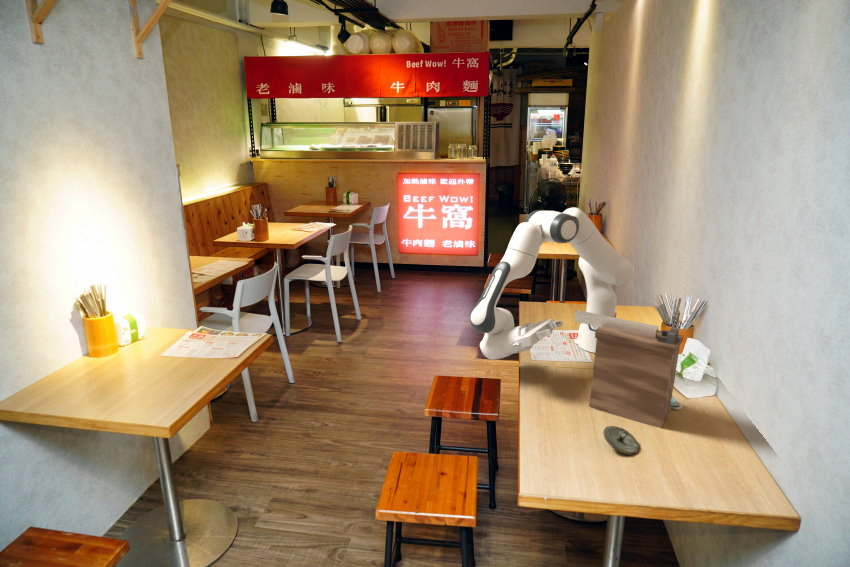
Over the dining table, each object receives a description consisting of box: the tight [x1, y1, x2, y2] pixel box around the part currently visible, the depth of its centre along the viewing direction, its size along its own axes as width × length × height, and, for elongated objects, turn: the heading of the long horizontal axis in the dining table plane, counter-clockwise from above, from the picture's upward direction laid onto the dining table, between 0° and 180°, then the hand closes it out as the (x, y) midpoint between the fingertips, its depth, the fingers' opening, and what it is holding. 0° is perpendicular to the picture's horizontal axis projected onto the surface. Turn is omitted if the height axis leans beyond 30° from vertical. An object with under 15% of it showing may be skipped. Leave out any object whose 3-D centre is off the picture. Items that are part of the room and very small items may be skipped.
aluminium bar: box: [573, 309, 660, 338], centre depth 180 cm, size 3×25×3 cm, turn 57°
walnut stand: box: [588, 326, 684, 429], centre depth 180 cm, size 13×23×29 cm, turn 57°
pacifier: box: [670, 395, 683, 411], centre depth 187 cm, size 7×6×6 cm
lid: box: [602, 425, 640, 456], centre depth 163 cm, size 11×10×5 cm
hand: (556, 326), depth 192 cm, fingers open, 8 cm apart
